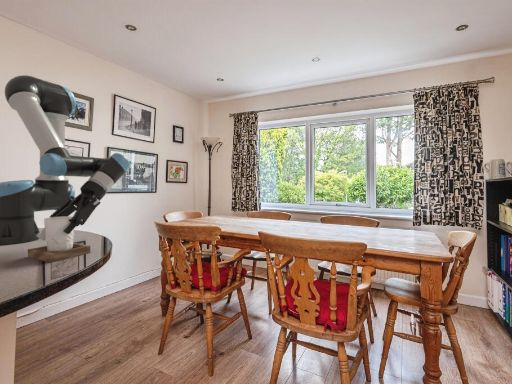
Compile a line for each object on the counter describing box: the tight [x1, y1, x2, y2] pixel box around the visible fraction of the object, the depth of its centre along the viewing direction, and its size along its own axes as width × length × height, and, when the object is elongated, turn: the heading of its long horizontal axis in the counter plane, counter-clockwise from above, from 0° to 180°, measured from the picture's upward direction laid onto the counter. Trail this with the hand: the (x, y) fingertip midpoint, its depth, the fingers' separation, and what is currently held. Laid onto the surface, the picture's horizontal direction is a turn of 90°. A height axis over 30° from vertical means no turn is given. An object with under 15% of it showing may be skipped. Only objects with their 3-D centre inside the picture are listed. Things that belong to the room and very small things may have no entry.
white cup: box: [43, 215, 75, 251], centre depth 87 cm, size 8×8×10 cm
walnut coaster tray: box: [27, 242, 91, 264], centre depth 87 cm, size 12×12×2 cm
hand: (48, 239), depth 84 cm, fingers closed on white cup, 8 cm apart
